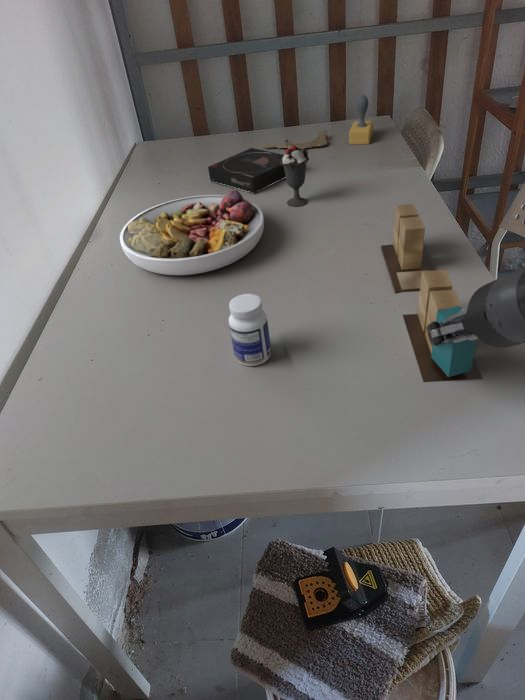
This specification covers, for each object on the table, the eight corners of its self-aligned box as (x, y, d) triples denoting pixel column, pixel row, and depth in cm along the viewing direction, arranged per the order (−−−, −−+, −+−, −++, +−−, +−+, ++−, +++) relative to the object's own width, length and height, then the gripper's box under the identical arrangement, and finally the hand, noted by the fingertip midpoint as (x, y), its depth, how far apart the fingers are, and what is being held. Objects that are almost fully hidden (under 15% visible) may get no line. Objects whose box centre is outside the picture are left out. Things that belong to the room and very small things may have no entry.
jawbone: (337, 146, 152) (337, 139, 150) (270, 160, 149) (269, 153, 148) (326, 135, 158) (326, 128, 157) (262, 148, 155) (261, 142, 154)
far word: (421, 244, 102) (426, 202, 96) (443, 292, 88) (449, 247, 83) (380, 247, 102) (382, 206, 97) (395, 295, 89) (398, 250, 83)
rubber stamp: (369, 144, 149) (370, 99, 142) (349, 144, 151) (349, 100, 143) (372, 133, 156) (374, 90, 149) (353, 133, 158) (354, 90, 150)
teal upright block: (452, 351, 74) (459, 305, 69) (470, 371, 71) (480, 324, 66) (430, 357, 74) (436, 311, 69) (448, 377, 70) (455, 330, 65)
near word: (452, 314, 83) (460, 267, 78) (482, 382, 71) (494, 332, 65) (402, 317, 84) (406, 271, 78) (422, 385, 71) (429, 336, 66)
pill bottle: (251, 339, 83) (243, 287, 77) (279, 351, 80) (273, 298, 74) (227, 359, 80) (217, 306, 74) (255, 372, 77) (247, 318, 71)
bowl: (186, 300, 94) (177, 262, 89) (99, 255, 112) (87, 221, 107) (294, 235, 110) (292, 200, 105) (203, 204, 127) (197, 173, 122)
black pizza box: (298, 171, 138) (297, 156, 136) (254, 194, 129) (252, 178, 127) (254, 161, 148) (253, 147, 145) (210, 181, 139) (208, 166, 136)
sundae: (279, 207, 121) (274, 142, 112) (287, 196, 126) (283, 132, 117) (306, 209, 119) (303, 142, 110) (314, 197, 124) (311, 132, 115)
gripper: (569, 258, 56) (483, 295, 73) (450, 288, 54) (390, 319, 71) (591, 325, 55) (499, 347, 72) (471, 358, 53) (406, 372, 70)
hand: (446, 333), depth 71 cm, fingers closed on teal upright block, 3 cm apart
